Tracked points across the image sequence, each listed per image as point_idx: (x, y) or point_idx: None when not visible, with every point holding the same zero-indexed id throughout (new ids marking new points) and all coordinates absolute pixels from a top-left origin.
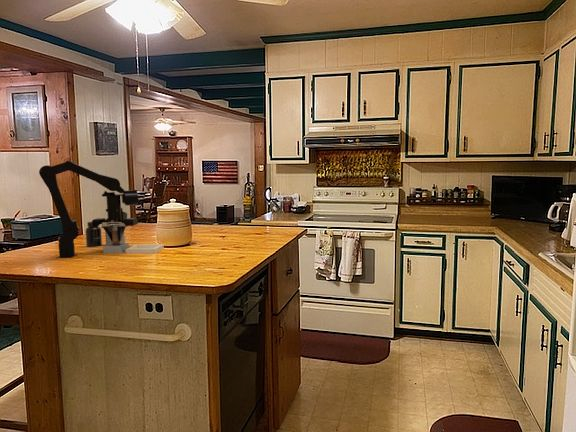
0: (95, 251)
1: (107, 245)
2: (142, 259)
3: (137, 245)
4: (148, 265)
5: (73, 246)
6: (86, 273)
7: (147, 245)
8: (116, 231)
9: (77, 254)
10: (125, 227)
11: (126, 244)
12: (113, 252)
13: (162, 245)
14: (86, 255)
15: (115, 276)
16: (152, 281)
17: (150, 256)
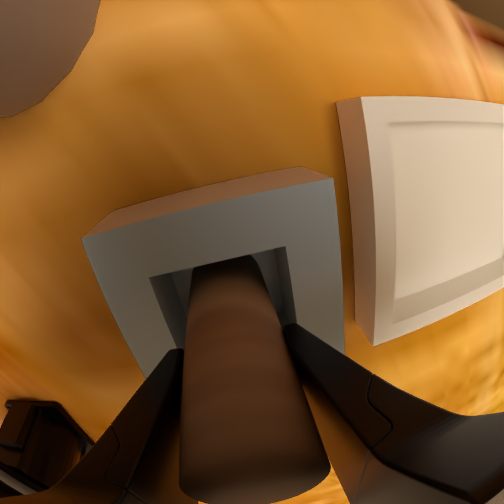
0: (19, 282)
1: None
2: (463, 365)
3: (388, 121)
4: (477, 402)
5: (62, 473)
6: (337, 499)
7: (466, 120)
8: (295, 487)
9: (53, 407)
10: (494, 425)
11: (337, 254)
12: None
13: None
14: (90, 395)
15: None
16: None
17: (488, 309)
